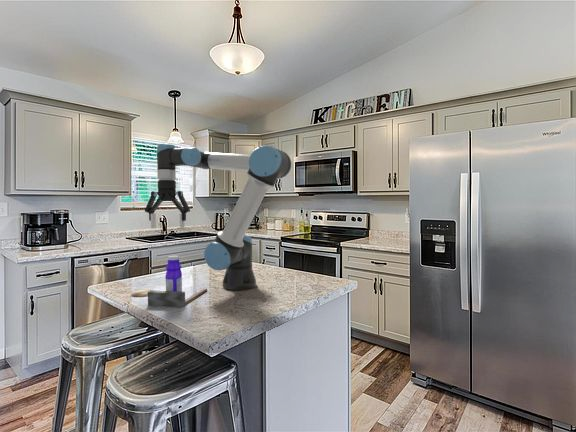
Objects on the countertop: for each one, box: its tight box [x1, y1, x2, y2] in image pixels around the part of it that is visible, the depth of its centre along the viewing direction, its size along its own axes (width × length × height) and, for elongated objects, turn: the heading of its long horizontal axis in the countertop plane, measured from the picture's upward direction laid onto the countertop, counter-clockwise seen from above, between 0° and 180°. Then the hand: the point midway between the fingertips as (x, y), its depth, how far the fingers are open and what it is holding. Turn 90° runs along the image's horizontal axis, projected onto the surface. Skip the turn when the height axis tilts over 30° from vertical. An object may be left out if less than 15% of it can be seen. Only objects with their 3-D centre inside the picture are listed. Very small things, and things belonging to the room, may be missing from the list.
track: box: [147, 288, 208, 308], centre depth 132 cm, size 14×22×5 cm, turn 171°
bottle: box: [165, 255, 183, 292], centre depth 128 cm, size 7×6×17 cm
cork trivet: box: [131, 289, 155, 298], centre depth 139 cm, size 9×9×1 cm
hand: (167, 228), depth 146 cm, fingers open, 13 cm apart
